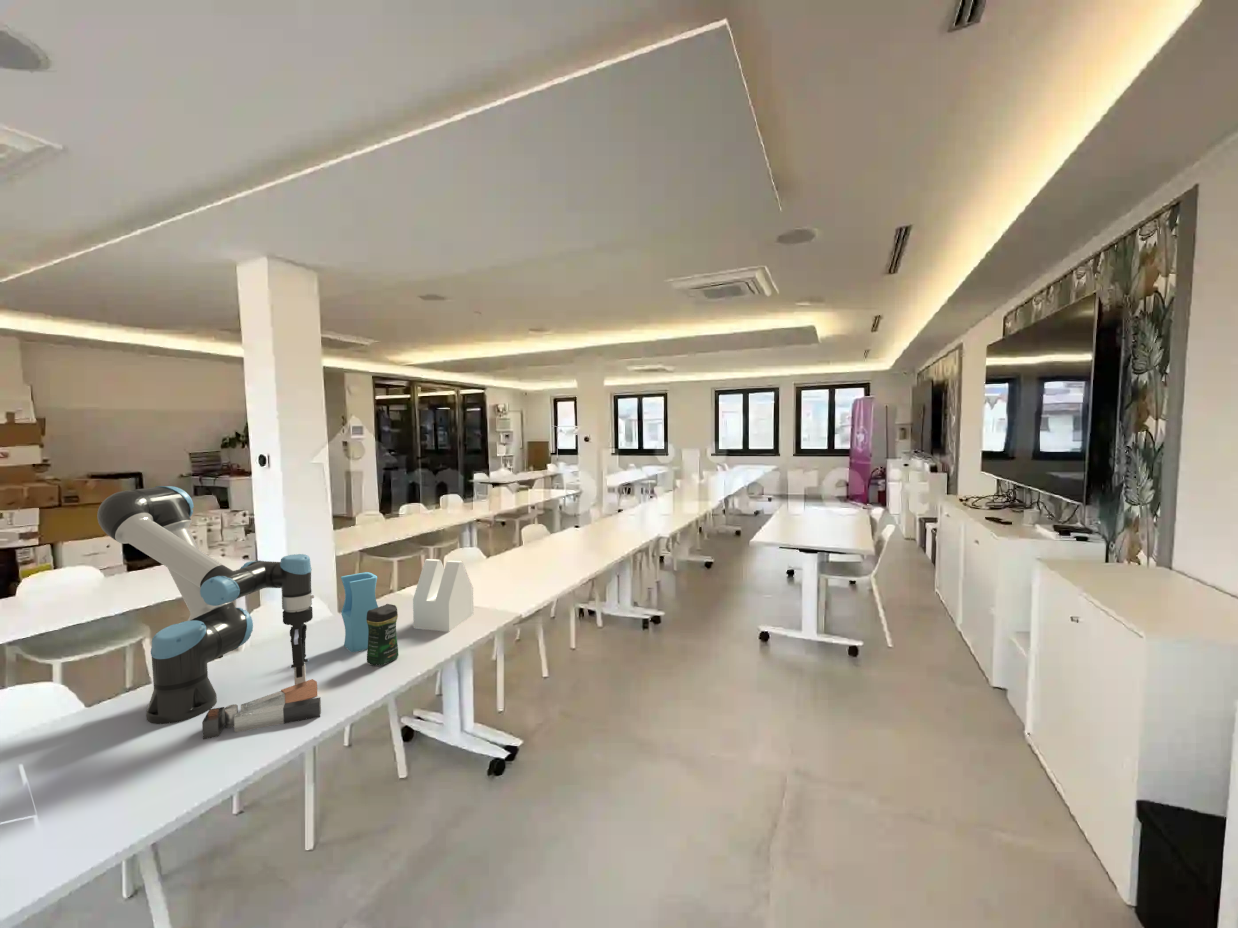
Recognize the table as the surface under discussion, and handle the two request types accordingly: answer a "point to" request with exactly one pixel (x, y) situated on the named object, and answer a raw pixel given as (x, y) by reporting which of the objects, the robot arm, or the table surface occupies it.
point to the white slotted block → (442, 596)
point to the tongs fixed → (261, 716)
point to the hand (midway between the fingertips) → (300, 685)
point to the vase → (358, 608)
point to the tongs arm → (274, 700)
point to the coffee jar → (382, 635)
